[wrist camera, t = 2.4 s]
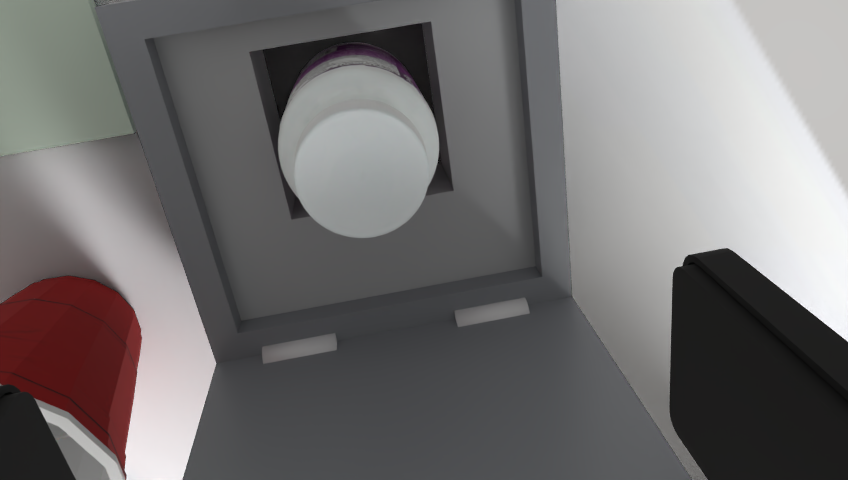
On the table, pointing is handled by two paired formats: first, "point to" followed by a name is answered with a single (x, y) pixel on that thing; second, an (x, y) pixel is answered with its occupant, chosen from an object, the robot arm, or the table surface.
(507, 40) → the equipment case
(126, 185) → the table surface
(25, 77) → the sage mat
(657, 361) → the table surface
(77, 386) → the plastic cup
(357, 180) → the pill bottle
